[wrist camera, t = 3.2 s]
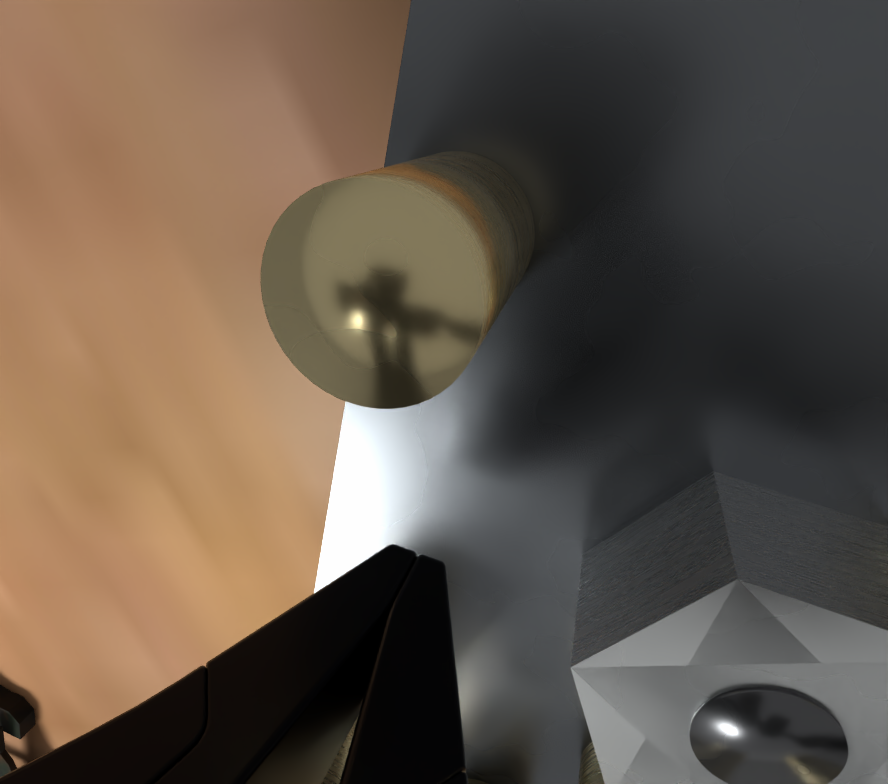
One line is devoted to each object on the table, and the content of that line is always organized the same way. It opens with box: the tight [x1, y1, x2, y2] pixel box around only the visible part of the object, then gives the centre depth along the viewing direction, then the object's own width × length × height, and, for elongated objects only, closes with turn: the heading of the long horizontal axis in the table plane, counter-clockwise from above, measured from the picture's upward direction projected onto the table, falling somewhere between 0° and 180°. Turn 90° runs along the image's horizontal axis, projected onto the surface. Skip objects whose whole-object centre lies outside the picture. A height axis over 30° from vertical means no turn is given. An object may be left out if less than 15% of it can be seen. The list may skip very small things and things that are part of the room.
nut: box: [571, 471, 888, 784], centre depth 9 cm, size 5×4×2 cm
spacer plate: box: [261, 0, 888, 784], centre depth 9 cm, size 14×18×4 cm
